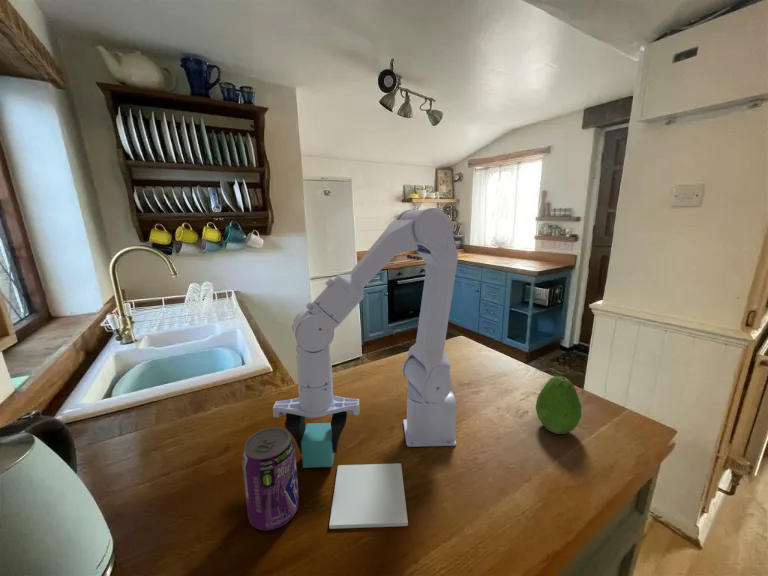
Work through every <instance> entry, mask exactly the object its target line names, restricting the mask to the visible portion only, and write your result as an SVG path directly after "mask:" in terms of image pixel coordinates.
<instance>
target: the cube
mask: <svg viewBox="0 0 768 576" xmlns="http://www.w3.org/2000/svg"><path fill="white" fill-rule="evenodd" d="M332 445H333V437H332V429H331V422H315V423H313V422H311V423H309V422H308V423H306V425H305V432H304V435H303V438H302V441H301V447H302V454H301V462H302V468H303V469H304V468H331V467H333V464H334V459H335V453H333V449H332Z"/></svg>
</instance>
